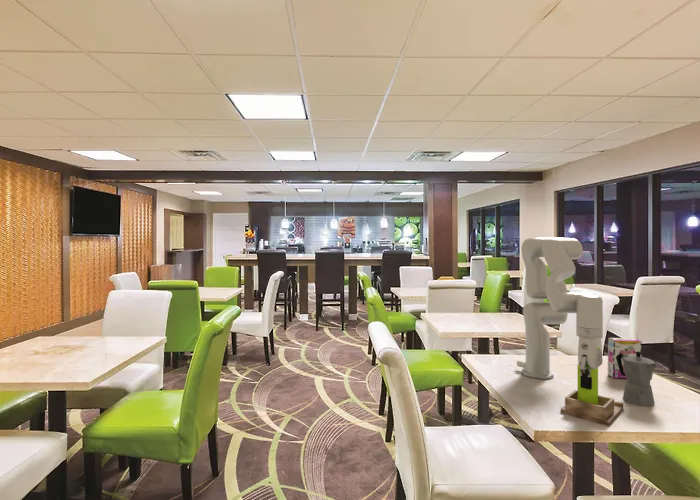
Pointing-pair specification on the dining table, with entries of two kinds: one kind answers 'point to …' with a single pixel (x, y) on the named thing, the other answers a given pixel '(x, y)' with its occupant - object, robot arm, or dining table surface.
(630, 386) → the coffeepot
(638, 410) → the dining table surface
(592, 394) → the soap dispenser
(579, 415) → the wooden tray
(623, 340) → the candy bar box
